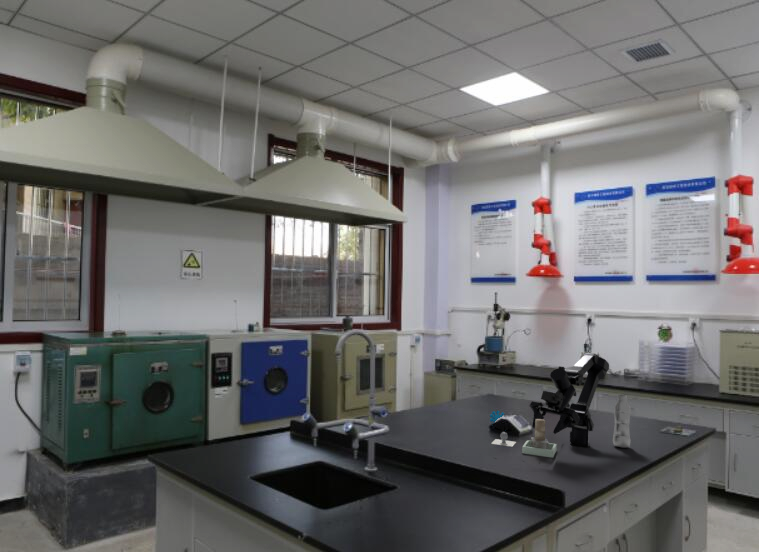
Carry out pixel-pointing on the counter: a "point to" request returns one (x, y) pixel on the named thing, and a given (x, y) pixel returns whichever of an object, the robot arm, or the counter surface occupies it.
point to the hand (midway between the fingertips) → (543, 430)
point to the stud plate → (503, 440)
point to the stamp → (539, 435)
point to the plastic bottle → (622, 422)
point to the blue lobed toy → (495, 416)
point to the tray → (539, 450)
